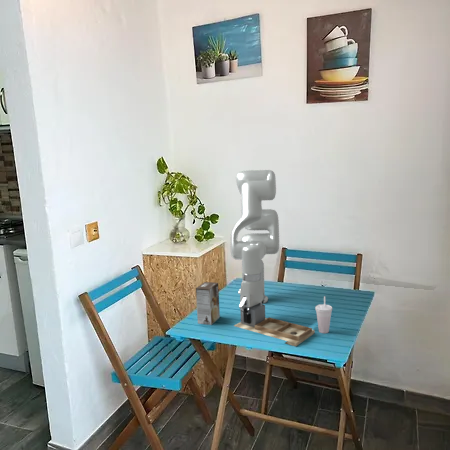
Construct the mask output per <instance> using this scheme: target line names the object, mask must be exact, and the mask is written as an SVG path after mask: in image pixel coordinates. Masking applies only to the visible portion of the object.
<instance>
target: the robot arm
mask: <svg viewBox="0 0 450 450" xmlns="http://www.w3.org/2000/svg"><path fill="white" fill-rule="evenodd" d="M235 182H236V185H237V188H238V191H239V193H240V197H241V199H240V207H241V208H240V209H241V210H240V212H241V214H240V218H239V219H238V220H237V222H236V223H235V224H234V226H233V227H232V230H231V234H230V256H231V257H232V259H234V260H238V261H241V269H242V270H241V274H242V281H241V284H240V288H239V289H238V292H237V294H238V295H239V296H240V297H239V302H240V303H239V305H238V308H239V309H241V311H242V313H243V317H244V322H245V323H248V324H250V323H251V314H250V309H251V307H252V306H254V305H256V304H258V303H259V304H263V305H265V304H266V303H267V302H268V301H269V297H268V296H267V295H265V263H264V261H263V259H264V257H265V256H266V255H275V254H278V253H279V251H280V226H279V225H280V222H279V221H280V220H279V213H278V212H277V211H276V210H275V209H272V208H270V209H269V208H267V209H263V207H262V205H263V203H262V201H273V200H275V198H276V194H277V183H276V182H277V180H276V174H275V172H274V171H273V170H271V169H259V170H254V169H251V170H250V169H249V170H243V171H239V172H237V173H236V176H235ZM243 229H245V230H247V231H268V233H267V232H265V233H264V232H261V233H247V234H244V235H242V236H241V238H240V241H238V236H239V233H240V232H241V231H242V230H243ZM247 304H248V306H247ZM246 307H248V310H247V309H246ZM241 311H240V312H241Z"/></svg>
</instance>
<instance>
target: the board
mask: <svg viewBox="0 0 450 450" xmlns="http://www.w3.org/2000/svg"><path fill="white" fill-rule="evenodd" d="M233 326H234V327H236V328H239V329H243V330H246V331H250V332H254V333H256V334H257V333H258V334H261V335H263V336H264V335H265V336H267V337H271V338H275V339H279V340H282V341H284V344H285V345H289V346H292V347H297V346H299V345H301V344H302V343H303V342H305V341H306V340H307V339H309V338H310V337H312V336H313V335H314V334H315V332H316V331H315V329H313V328H312V327H310V326H305V325H300V324H297V323H293V322H288V321H285V320H280V319H278V318H277V319H276V318H273V317H265V320H263V321H262V322H260V323H258V324H256V325H255V327H252V326H248V325H245V324H241V321H240V322H238V323H236V324H234V325H233Z"/></svg>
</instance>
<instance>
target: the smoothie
mask: <svg viewBox="0 0 450 450" xmlns="http://www.w3.org/2000/svg"><path fill="white" fill-rule="evenodd" d="M314 310H315V311H316V319H317V321H316V322H317V327H318V332H319V333H320V334H328V333H329V332H330V325H331V318H332V317H331V316H332V311H333V307H332V306H331V305H330V304H326V296H325V295H324V296H323V304H321V303H320V304H317V305H315V308H314Z"/></svg>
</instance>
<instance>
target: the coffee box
mask: <svg viewBox="0 0 450 450" xmlns="http://www.w3.org/2000/svg"><path fill="white" fill-rule="evenodd" d="M219 291H220V290H219V282H212V281H204V282H202V283H201V284H200V285H198V286H197V287H195V296H196V298H195V299H196V314H197V324H199V325H200V324H201V325H209V326H212V325H213V324H215V323H216V321H218V320H219V319H220V317H221V313H220V310H221V309H220V295H219Z"/></svg>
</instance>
